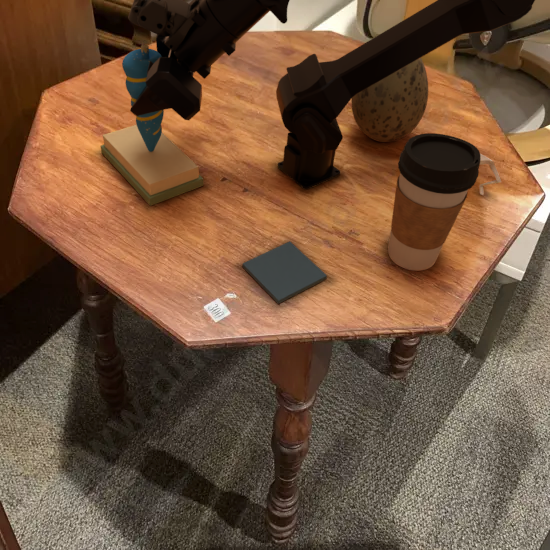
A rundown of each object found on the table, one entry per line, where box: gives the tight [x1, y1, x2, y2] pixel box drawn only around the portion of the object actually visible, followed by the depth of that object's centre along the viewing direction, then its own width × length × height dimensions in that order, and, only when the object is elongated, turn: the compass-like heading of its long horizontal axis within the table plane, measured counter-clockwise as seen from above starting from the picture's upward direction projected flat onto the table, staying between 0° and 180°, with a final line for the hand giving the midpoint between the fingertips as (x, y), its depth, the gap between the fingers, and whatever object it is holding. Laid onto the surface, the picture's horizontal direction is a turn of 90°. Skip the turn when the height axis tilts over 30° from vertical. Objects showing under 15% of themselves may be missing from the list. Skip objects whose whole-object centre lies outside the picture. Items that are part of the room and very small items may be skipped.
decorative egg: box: [350, 57, 429, 143], centre depth 86 cm, size 11×11×15 cm
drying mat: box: [241, 241, 328, 304], centre depth 70 cm, size 7×7×1 cm
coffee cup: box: [387, 132, 481, 272], centre depth 68 cm, size 8×8×15 cm
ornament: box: [121, 40, 165, 152], centre depth 75 cm, size 5×5×15 cm
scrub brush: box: [100, 124, 205, 207], centre depth 82 cm, size 8×14×3 cm, turn 37°
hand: (136, 102), depth 75 cm, fingers closed on ornament, 5 cm apart
